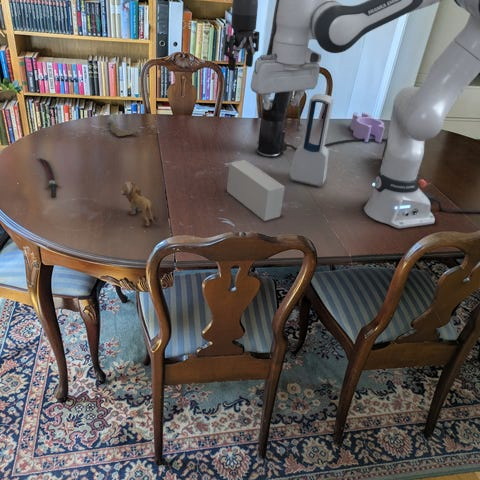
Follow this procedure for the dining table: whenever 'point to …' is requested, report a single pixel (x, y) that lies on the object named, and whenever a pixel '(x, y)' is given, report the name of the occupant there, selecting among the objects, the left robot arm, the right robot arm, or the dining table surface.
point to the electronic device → (312, 148)
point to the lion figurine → (137, 201)
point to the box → (255, 189)
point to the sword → (52, 181)
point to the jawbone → (119, 132)
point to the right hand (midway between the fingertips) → (281, 107)
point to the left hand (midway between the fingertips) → (240, 68)
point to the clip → (367, 127)
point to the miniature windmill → (294, 109)
